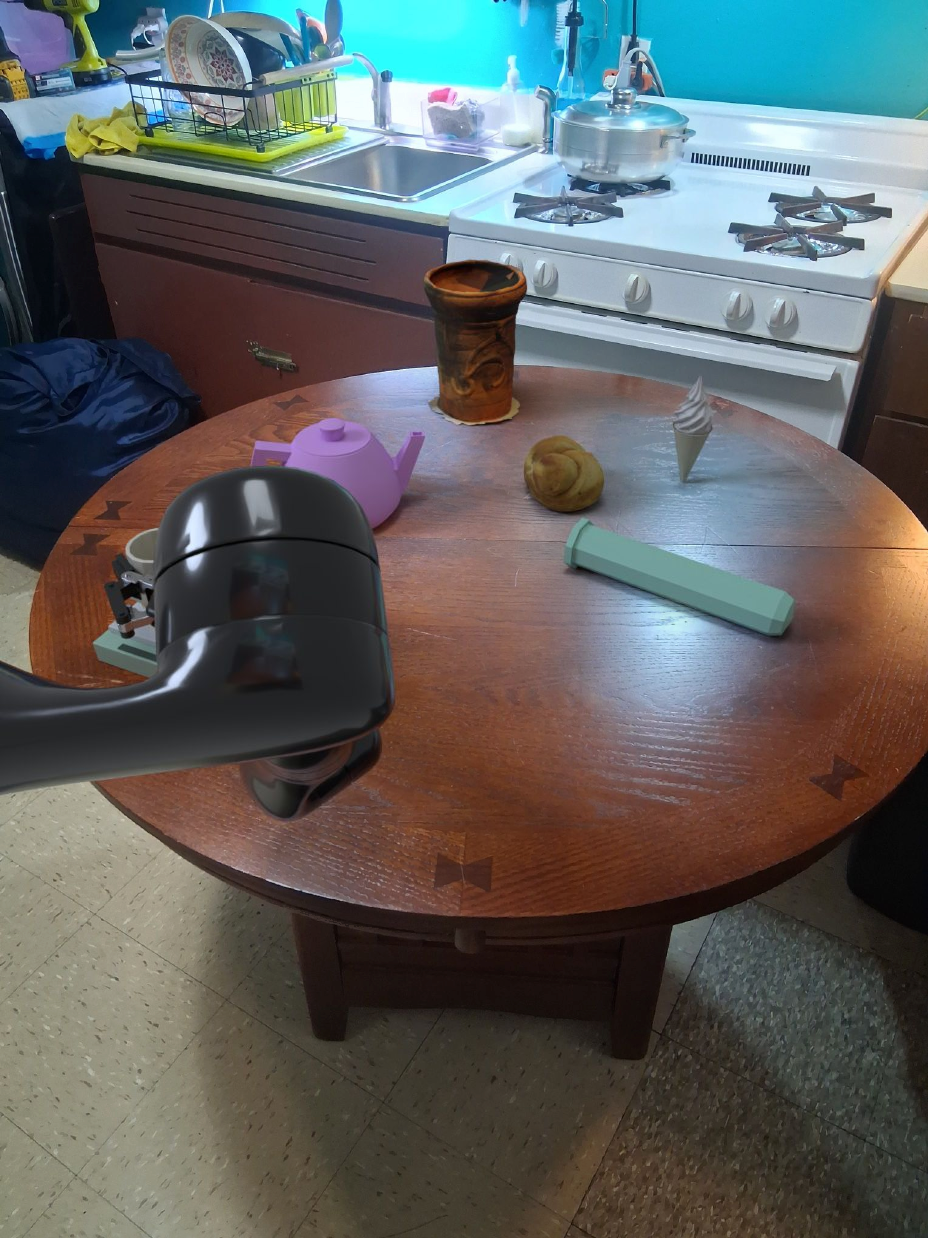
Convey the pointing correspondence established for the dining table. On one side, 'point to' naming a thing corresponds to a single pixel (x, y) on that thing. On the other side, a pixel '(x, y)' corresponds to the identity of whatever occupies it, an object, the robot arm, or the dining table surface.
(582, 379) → the dining table surface
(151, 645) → the scale
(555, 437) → the bread roll
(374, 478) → the teapot
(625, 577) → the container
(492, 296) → the vessel
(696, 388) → the ice cream cone
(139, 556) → the tumbler
